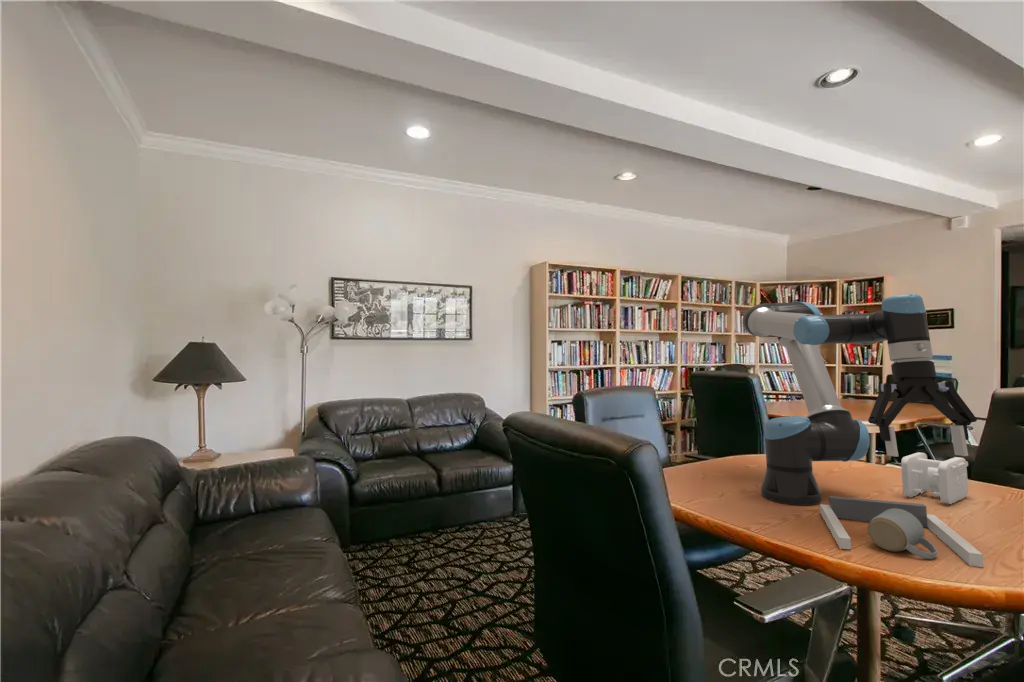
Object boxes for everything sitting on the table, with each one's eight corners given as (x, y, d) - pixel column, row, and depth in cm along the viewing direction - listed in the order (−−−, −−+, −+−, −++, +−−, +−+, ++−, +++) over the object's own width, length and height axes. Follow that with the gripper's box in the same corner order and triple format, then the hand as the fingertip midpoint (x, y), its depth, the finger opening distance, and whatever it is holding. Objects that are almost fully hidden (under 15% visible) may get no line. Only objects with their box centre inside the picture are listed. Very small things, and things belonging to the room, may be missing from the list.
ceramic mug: (865, 546, 99) (864, 510, 99) (882, 537, 103) (881, 503, 103) (928, 565, 90) (926, 526, 90) (944, 555, 94) (942, 518, 94)
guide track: (840, 549, 98) (838, 525, 98) (820, 513, 120) (819, 494, 120) (983, 567, 88) (981, 541, 88) (934, 525, 109) (932, 504, 110)
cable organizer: (923, 489, 137) (921, 450, 138) (971, 498, 128) (968, 456, 129) (902, 498, 130) (899, 457, 130) (951, 508, 121) (948, 464, 121)
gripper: (861, 361, 103) (875, 457, 100) (987, 357, 99) (1006, 456, 96) (843, 365, 110) (855, 454, 107) (960, 360, 106) (976, 453, 103)
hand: (926, 455), depth 101 cm, fingers open, 13 cm apart
